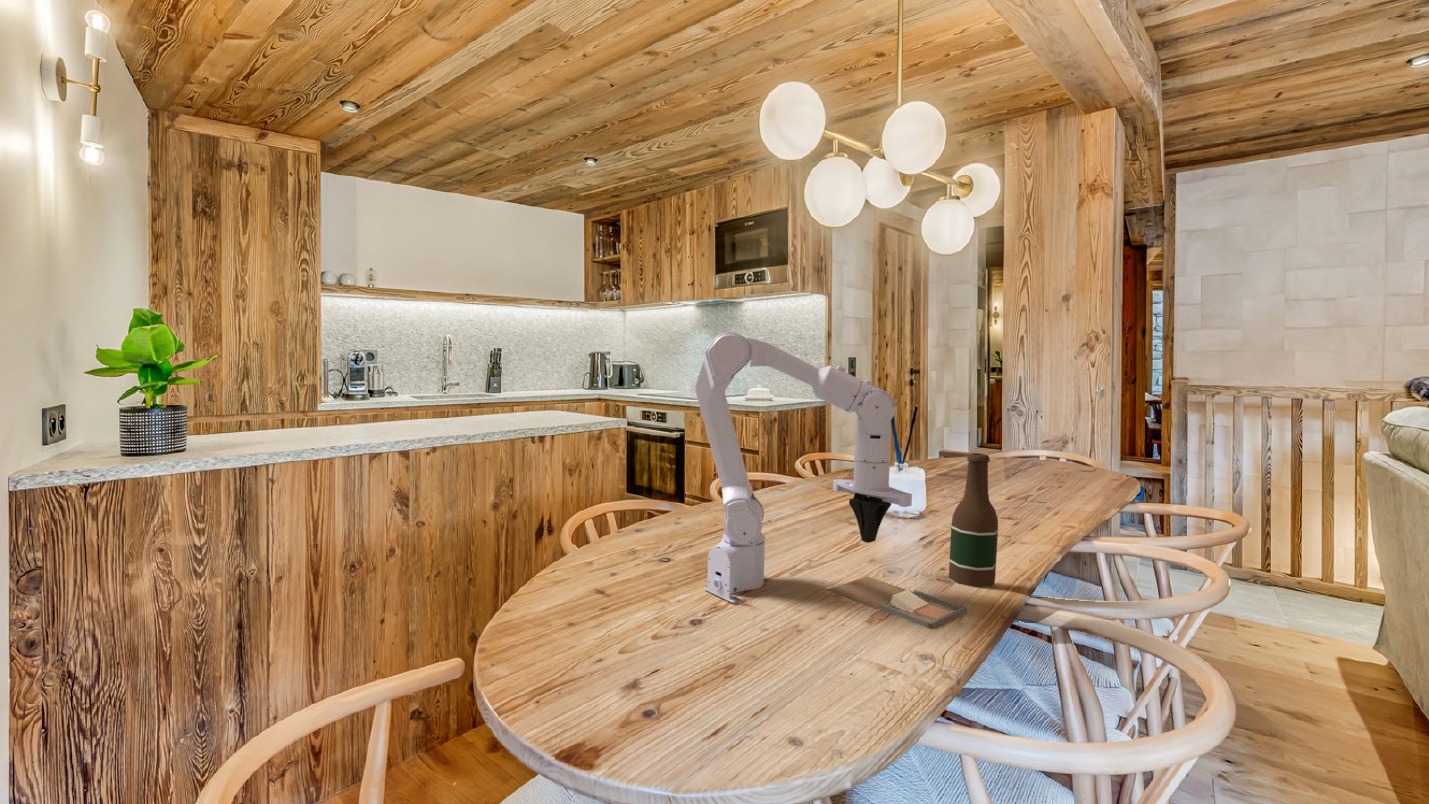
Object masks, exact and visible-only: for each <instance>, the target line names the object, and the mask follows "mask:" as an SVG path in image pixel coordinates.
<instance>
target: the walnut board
mask: <svg viewBox="0 0 1429 804" xmlns="http://www.w3.org/2000/svg"><path fill="white" fill-rule="evenodd" d="M906 590H907V589H906V588H902V587H899V586H897V585H893V584H891V583H888V582H885V581H882V580H880V579H877V578H874V577H871V576H868V575H867V576H865V577H861V578H858V579H855V580H852V581H849V582H846V583H843V584H840V585H837V586H834V587H830V588H828V589H826V591H828V592H831V593H833V594H836V595H839V596H842V597H844V598H847V599H849V600H852V601H854V602H857V603H859V604H860V605H861V604H862V605H864V606H867V607H870V608H872V609H874V610H877V609H879V604H884V605H889V604H890V603H891V599H892V596H893V595H895V594H898V593H900V592H903V591H906ZM909 591H910V592H911V593H913V594H914V591H911V590H909Z"/></svg>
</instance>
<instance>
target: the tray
mask: <svg viewBox="0 0 1429 804" xmlns="http://www.w3.org/2000/svg"><path fill="white" fill-rule="evenodd" d="M913 592H914V595H916V596H918V597H919V598H921V599H922V600H926V601H930V602H931V603H935V604H938V605H940V606H943V607H946V608H949V609H952V610H954V611H950V612H951V613H949V614H946V615H944V616H942V617H939V618H937V619H935V620H930V621H929V620H926V619H924V618H921V617H918V616H915V615H912V614H910V613H909V612H908V613H907V612H905V611H901V610H900V609H896V608H895V607H894V606H893V605H892V604H888V605H884V604H879V608H878V609H879V610H881V611H884V612H886V613H888V614H892V615H894V616H896V617H899V618H901V619H904V620H907V621H909V622H912V623H913V624H916V625H919V626H922V627H925V628H928V629H933V628H936V627H938V626H940V625H942V624H945V623H947V622H949V621H951V620H954V619H955V618H957V617H960V616H962V615H964V614H966V613H967V612H968V608H967V607H966V606H963V605H960V604H958V603H955V602H951V601H949V600H945V599H943V598H940V597H937V596H934V595H930V594H928V593H924V592H922V591H920V590H914V591H913Z"/></svg>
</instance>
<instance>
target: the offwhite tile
mask: <svg viewBox="0 0 1429 804" xmlns="http://www.w3.org/2000/svg"><path fill="white" fill-rule="evenodd" d="M905 590H906V591H903V592H900V593H898V594H895V595H893V596H892V599H891V603H890V604H892V605H893V606H892V607H894V608H895V607H896V608H898V609H901V610H904V611H906V612H908V613H909V612H910V613H912V614H915V613H914V611H915V610H917V609H919V608H922V607H924V606H927V605H929V603H928V602H927V601H925V599H923V598H920V597H918V596H916V595H914V594H913V593H911V592H912V591H911V590H908V589H905ZM910 591H911V592H910Z"/></svg>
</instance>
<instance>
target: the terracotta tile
mask: <svg viewBox="0 0 1429 804" xmlns="http://www.w3.org/2000/svg"><path fill="white" fill-rule="evenodd" d="M951 612H952V611H948V610H945V609H942V608H939V607H937V606H933V605H931V604H928V605H927V606H924V607H922V608H919V609H917V610H915V611H914V613H913V614H916V615H919V616H921V617H924V618H927V619H930V620H931V621H933V620H935V619H937V618H939V617H942V616H944V615H946V614H949V613H951Z"/></svg>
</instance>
